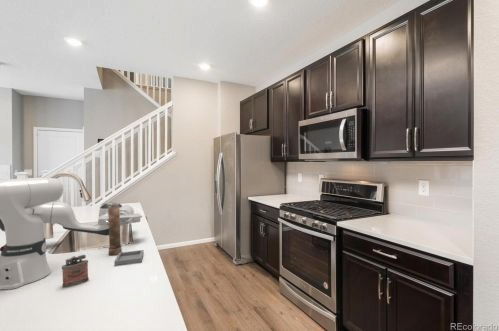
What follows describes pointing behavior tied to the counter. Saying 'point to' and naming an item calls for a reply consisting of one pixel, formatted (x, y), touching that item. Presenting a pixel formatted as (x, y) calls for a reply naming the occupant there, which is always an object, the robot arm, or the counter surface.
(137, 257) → the tray
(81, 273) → the lighter
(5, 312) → the counter surface
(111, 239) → the pepper mill
